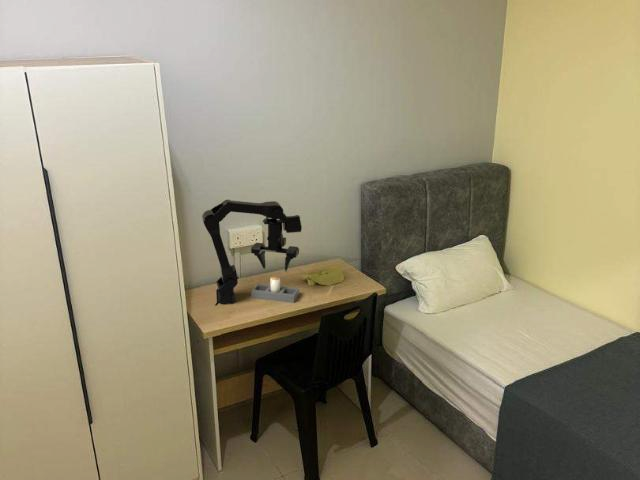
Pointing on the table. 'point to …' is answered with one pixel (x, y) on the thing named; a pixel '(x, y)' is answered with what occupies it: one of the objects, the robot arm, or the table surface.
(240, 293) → the table surface
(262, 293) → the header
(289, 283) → the table surface
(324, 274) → the plastic component
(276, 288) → the plug
